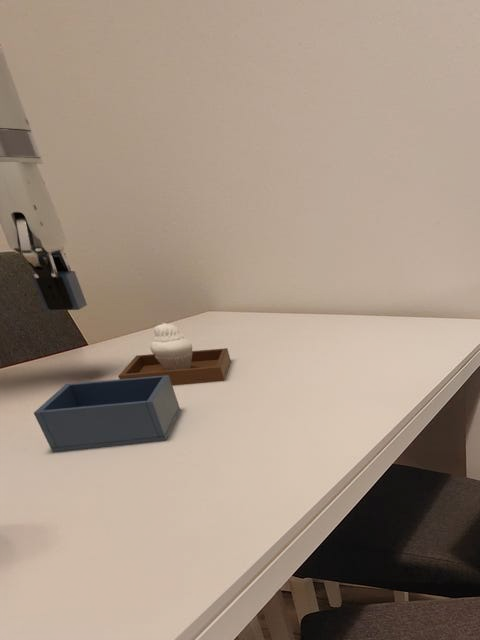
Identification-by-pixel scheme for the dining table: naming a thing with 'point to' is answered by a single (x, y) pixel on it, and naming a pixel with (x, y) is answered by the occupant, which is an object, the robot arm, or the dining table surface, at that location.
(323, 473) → the dining table surface
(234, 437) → the dining table surface
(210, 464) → the dining table surface
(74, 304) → the blue block
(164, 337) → the muffin
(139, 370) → the brown tray
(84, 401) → the blue bin
